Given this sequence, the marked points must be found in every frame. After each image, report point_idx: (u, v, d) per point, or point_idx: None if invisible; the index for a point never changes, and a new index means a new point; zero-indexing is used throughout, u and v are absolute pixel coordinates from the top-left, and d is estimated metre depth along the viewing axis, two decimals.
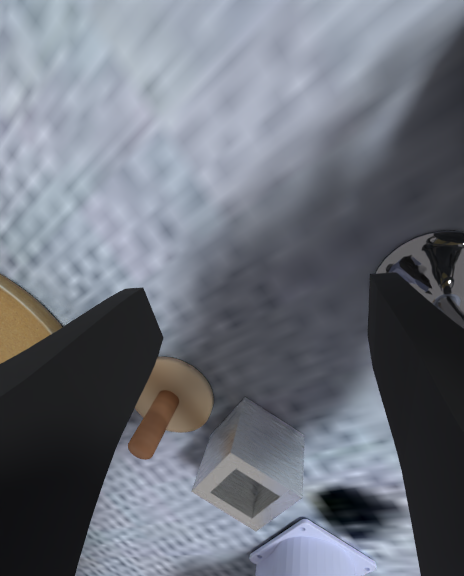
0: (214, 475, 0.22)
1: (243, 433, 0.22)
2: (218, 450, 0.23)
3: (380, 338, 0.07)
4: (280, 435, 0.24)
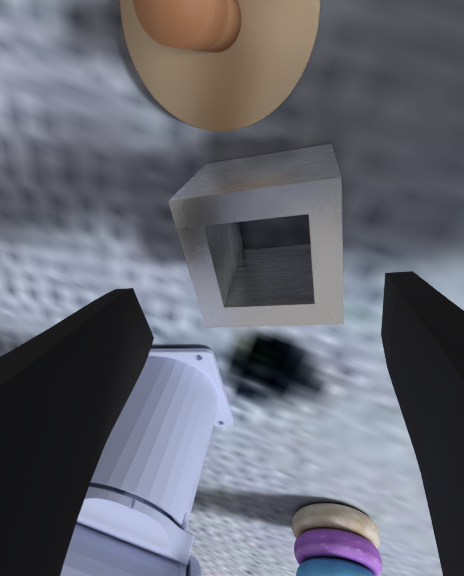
0: (251, 200, 0.10)
1: None
2: (264, 174, 0.11)
3: (397, 338, 0.07)
4: None
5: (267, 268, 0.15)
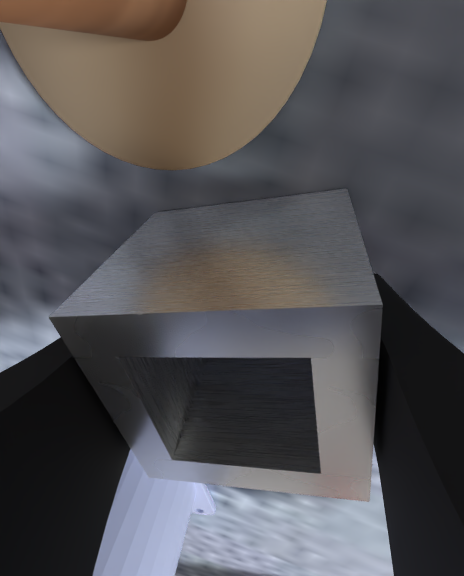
0: (199, 328, 0.05)
1: None
2: (232, 260, 0.06)
3: None
4: None
5: (248, 370, 0.10)
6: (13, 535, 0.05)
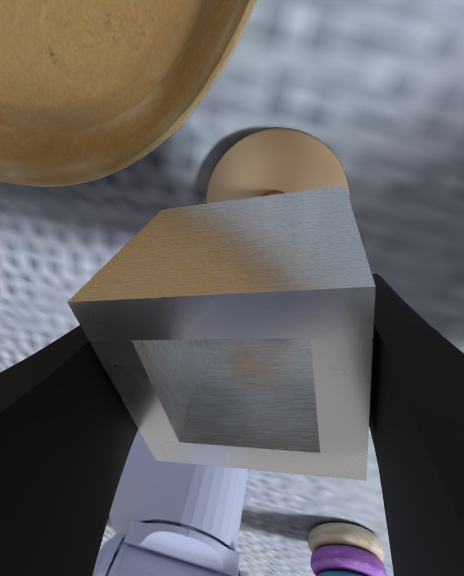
0: (208, 310, 0.06)
1: None
2: (237, 250, 0.07)
3: None
4: None
5: (250, 360, 0.10)
6: (13, 535, 0.05)
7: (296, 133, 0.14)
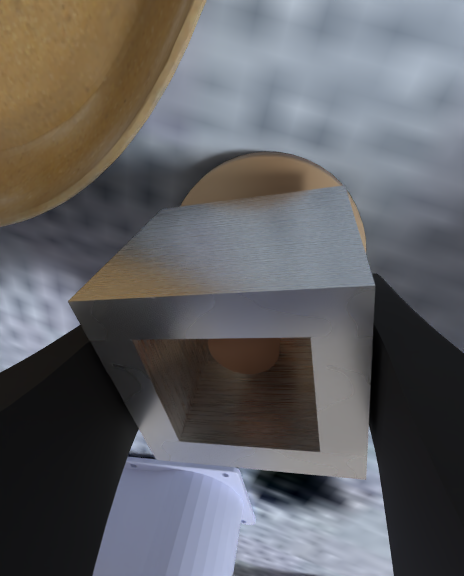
0: (208, 310, 0.06)
1: None
2: (237, 250, 0.07)
3: None
4: None
5: None
6: (13, 535, 0.05)
7: (292, 161, 0.10)
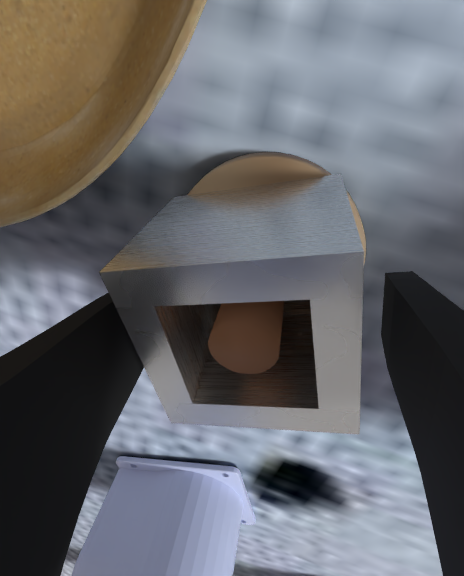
0: (222, 277, 0.07)
1: None
2: (245, 228, 0.08)
3: (397, 338, 0.07)
4: None
5: None
6: None
7: (291, 162, 0.10)
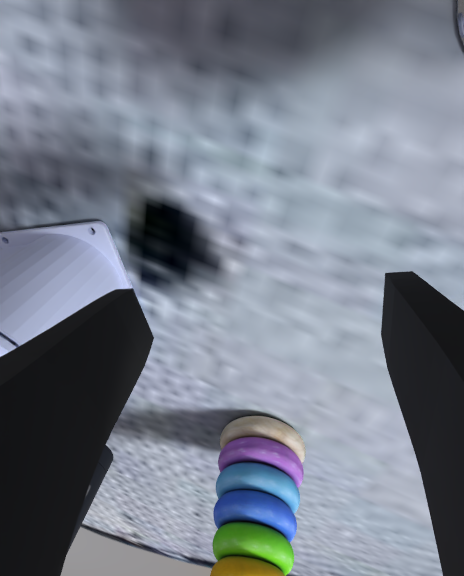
0: None
1: None
2: None
3: (397, 338, 0.07)
4: None
5: None
6: None
7: None
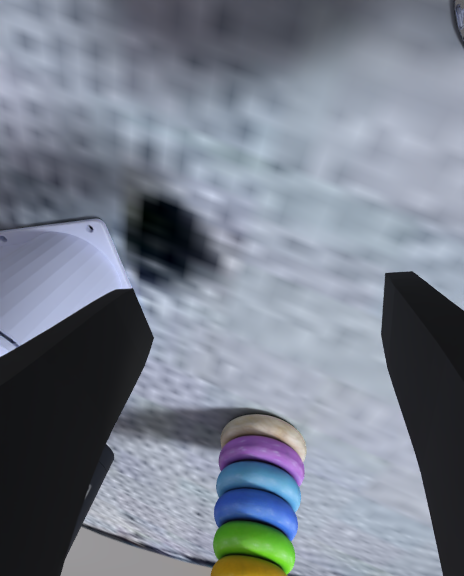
0: None
1: None
2: None
3: (397, 338, 0.07)
4: None
5: None
6: None
7: None
